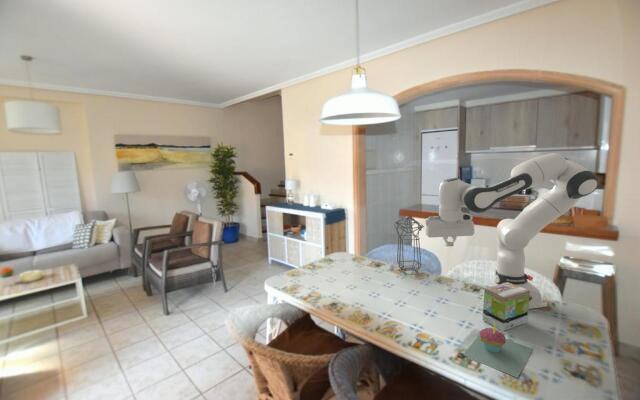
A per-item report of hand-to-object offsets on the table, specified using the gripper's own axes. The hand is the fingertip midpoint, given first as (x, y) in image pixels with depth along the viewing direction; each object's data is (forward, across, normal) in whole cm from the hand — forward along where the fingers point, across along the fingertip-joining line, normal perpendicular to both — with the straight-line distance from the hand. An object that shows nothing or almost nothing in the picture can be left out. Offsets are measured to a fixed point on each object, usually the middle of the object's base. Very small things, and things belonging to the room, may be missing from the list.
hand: (449, 245), depth 132 cm
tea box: (+31, +20, -10) cm, 38 cm away
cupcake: (+31, +5, -27) cm, 42 cm away
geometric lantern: (+31, -6, +48) cm, 58 cm away
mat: (+31, +5, -28) cm, 42 cm away
